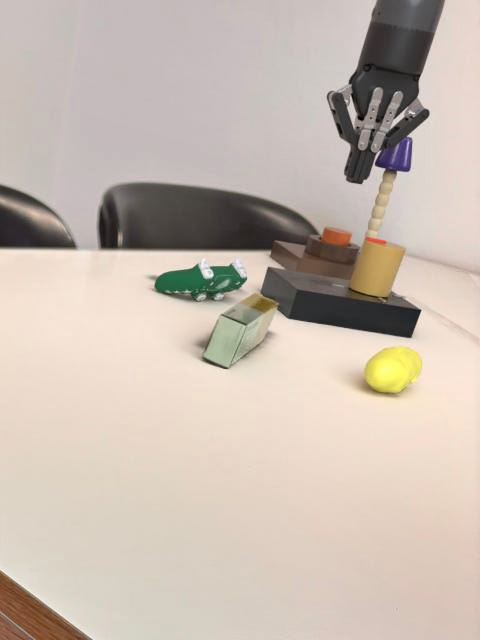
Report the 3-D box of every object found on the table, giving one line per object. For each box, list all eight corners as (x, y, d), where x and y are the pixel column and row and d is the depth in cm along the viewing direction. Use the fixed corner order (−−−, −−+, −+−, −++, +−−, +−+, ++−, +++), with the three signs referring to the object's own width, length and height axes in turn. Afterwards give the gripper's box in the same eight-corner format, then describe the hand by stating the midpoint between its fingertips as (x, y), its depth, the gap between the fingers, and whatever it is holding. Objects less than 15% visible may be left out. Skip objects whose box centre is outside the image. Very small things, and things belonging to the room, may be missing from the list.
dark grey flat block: (377, 312, 122) (387, 284, 120) (414, 338, 114) (425, 308, 112) (259, 293, 120) (268, 264, 118) (288, 318, 111) (298, 287, 110)
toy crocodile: (161, 313, 111) (203, 285, 106) (149, 279, 111) (190, 249, 106) (217, 311, 116) (259, 284, 112) (206, 278, 117) (247, 250, 112)
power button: (341, 243, 138) (346, 229, 137) (352, 250, 135) (356, 235, 134) (315, 239, 138) (320, 225, 137) (325, 245, 134) (330, 231, 134)
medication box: (229, 371, 90) (247, 325, 88) (200, 358, 90) (217, 313, 88) (263, 342, 99) (280, 300, 97) (236, 331, 100) (253, 289, 98)
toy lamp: (343, 265, 146) (386, 133, 138) (341, 259, 150) (383, 130, 142) (377, 273, 146) (423, 141, 137) (375, 267, 150) (419, 138, 141)
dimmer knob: (380, 289, 118) (398, 240, 115) (394, 299, 114) (413, 248, 111) (343, 283, 117) (359, 233, 114) (356, 293, 113) (373, 241, 111)
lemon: (425, 393, 95) (442, 350, 93) (386, 404, 89) (403, 359, 87) (382, 377, 97) (398, 334, 95) (342, 387, 91) (357, 342, 89)
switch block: (352, 271, 143) (363, 240, 141) (382, 290, 135) (393, 258, 133) (269, 257, 141) (278, 225, 139) (293, 275, 133) (304, 242, 131)
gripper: (362, 15, 120) (313, 179, 129) (470, 36, 122) (415, 196, 131) (339, 12, 126) (294, 169, 135) (442, 32, 128) (391, 185, 137)
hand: (353, 182), depth 133 cm, fingers closed
